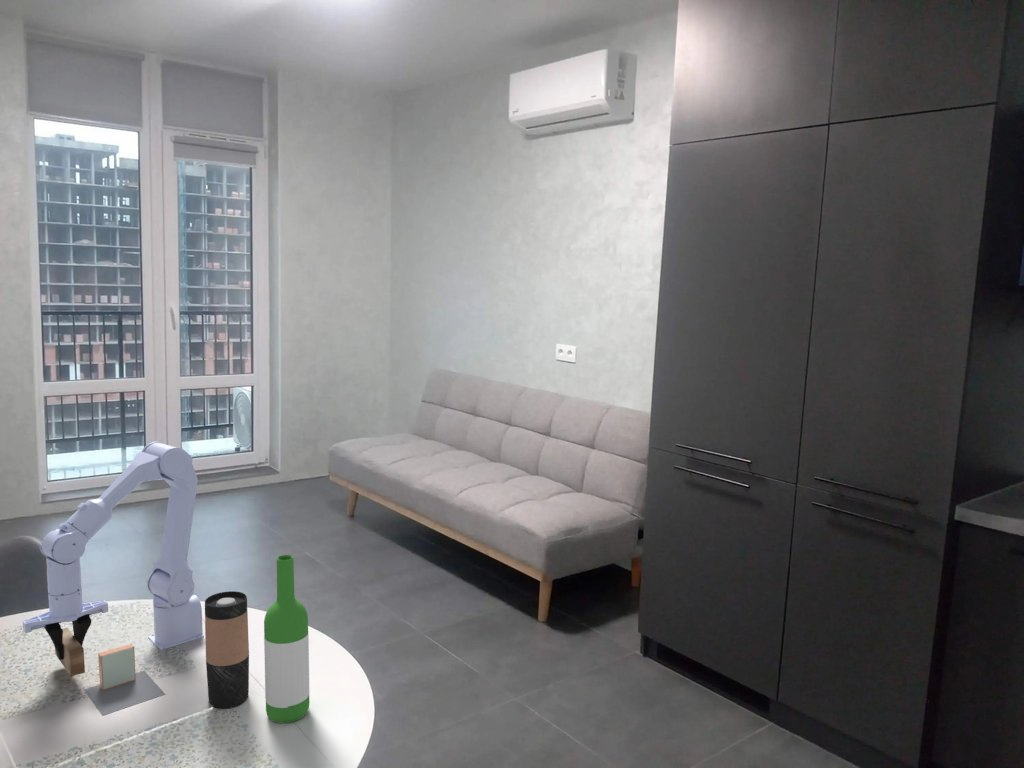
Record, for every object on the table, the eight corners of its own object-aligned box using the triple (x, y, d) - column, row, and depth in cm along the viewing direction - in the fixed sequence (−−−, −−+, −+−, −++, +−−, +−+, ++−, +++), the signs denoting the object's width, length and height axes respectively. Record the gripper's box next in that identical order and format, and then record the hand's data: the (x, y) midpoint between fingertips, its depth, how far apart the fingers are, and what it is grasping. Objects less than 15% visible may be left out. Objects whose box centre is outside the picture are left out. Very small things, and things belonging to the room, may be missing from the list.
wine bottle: (315, 717, 138) (312, 560, 134) (272, 730, 134) (268, 568, 130) (302, 698, 145) (300, 547, 141) (261, 709, 141) (257, 554, 137)
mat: (144, 672, 153) (144, 670, 153) (165, 696, 145) (165, 694, 144) (84, 691, 146) (83, 689, 146) (102, 717, 137) (102, 715, 137)
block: (133, 677, 151) (131, 643, 150) (136, 680, 149) (134, 646, 148) (100, 687, 146) (98, 653, 146) (102, 691, 145) (101, 656, 144)
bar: (55, 654, 154) (53, 631, 154) (68, 650, 156) (67, 627, 155) (71, 676, 146) (69, 652, 145) (84, 672, 147) (83, 648, 147)
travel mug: (258, 693, 146) (256, 594, 144) (231, 713, 139) (228, 610, 137) (226, 685, 149) (223, 588, 146) (198, 705, 142) (194, 603, 139)
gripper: (26, 606, 141) (31, 675, 143) (111, 586, 151) (114, 650, 153) (18, 595, 146) (23, 661, 148) (100, 576, 156) (104, 638, 158)
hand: (69, 655), depth 150 cm, fingers closed on bar, 2 cm apart
